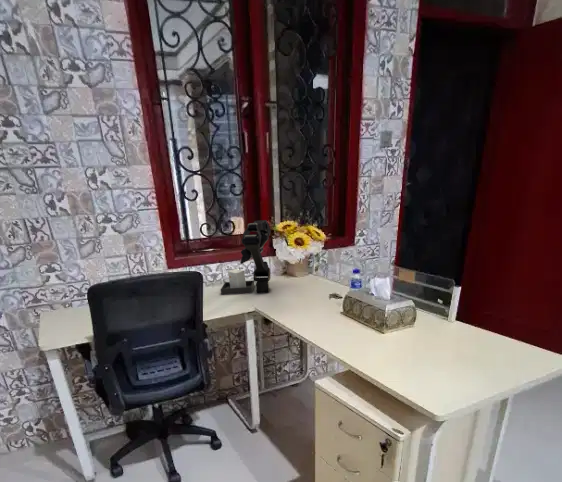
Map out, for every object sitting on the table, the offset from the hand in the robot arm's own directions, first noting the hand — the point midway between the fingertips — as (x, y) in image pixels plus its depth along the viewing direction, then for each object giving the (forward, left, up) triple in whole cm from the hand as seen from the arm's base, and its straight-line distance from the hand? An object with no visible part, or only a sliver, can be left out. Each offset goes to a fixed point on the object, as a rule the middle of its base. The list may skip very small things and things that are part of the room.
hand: (244, 261), depth 239 cm
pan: (+4, +10, -14) cm, 17 cm away
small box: (+3, +11, -13) cm, 17 cm away
